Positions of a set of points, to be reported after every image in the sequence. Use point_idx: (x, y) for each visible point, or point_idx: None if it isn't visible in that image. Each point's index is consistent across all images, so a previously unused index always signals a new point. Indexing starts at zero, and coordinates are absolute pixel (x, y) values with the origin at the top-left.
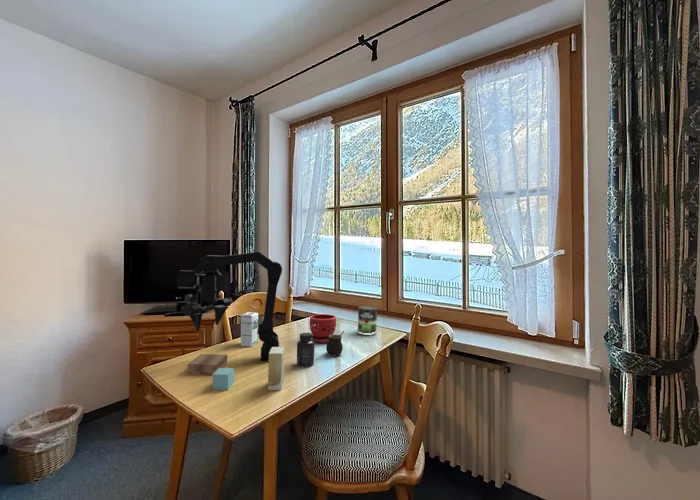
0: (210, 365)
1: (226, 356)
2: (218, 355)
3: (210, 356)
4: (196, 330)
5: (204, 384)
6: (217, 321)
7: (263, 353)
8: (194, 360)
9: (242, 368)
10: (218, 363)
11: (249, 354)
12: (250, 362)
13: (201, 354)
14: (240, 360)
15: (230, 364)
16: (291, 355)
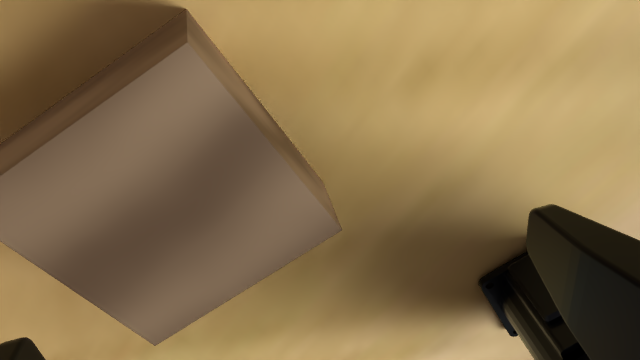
0: (123, 317)
1: (324, 232)
2: (281, 200)
3: (216, 177)
4: (7, 347)
5: None
6: (566, 305)
7: (524, 303)
8: (42, 172)
9: (331, 301)
10: (189, 319)
11: (550, 139)
12: (429, 259)
13: (178, 62)
14: (423, 192)
15: None
16: None
